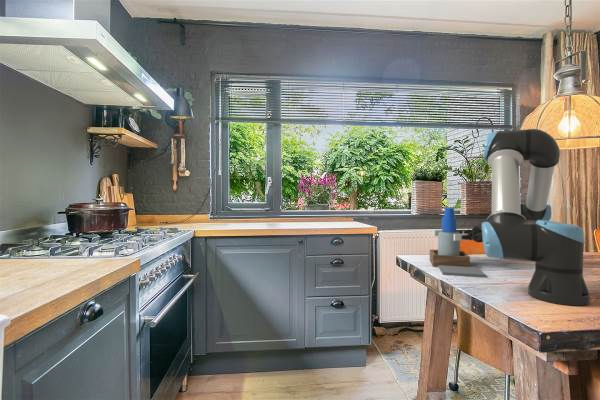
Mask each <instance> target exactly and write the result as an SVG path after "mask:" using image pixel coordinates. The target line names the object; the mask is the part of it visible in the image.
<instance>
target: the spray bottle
mask: <svg viewBox="0 0 600 400" xmlns="http://www.w3.org/2000/svg"><path fill="white" fill-rule="evenodd" d="M455 215H456V214H455V208H454V207H444V213H443V217H441V230H442V231H439V233H438V236H437V250H438V255H451V256H460V251H461V240H460V241H454V234H460V232H458V231H456V230H457V225H458V224H457V222H458V221H457V217H455Z"/></svg>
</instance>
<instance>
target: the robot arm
mask: <svg viewBox="0 0 600 400" xmlns="http://www.w3.org/2000/svg"><path fill="white" fill-rule="evenodd" d="M485 137H486V138H485V141H484V147H483V161H484V162H486V163H487V164H488V166H489V167H490V168H491V214H490V215H489V216H488V217H487V218H486V221H483V222H481V225H474V226H473V227H472V229H469V228H468V229H456V231H458V232H460V234H454V241H460V242H461V241H474V242H475V243H482V246H483V250H484V254H485V255H486V256H487V257H489V258H490V259H491V258H492V259H498V260H511V261H523V262H526V261H527V262H535V265H534V267H535V269H534V272H533V274H532V277H531V279H530V282H529V284H528V285H527V286H528V287H527V294H528V295H529V296H530V297H532V298H535V299H536V300H540V301H543V302H547V303H552V304H558V305H564V306H565V305H566V306H585V305H589V304H590V302H591V299H590V291H589V289H588V287H587V283H586V280H585V278H584V247H585V235H584V229H583V228H582V227H580V226H579V225H576V224H571V223H565V222H559V221H553V220H551V219H552V205H550V204H548V200H549V196H550V192H551V191H550V190H551V186H552V180H553V175H554V171H555V167H556V166H557V165H558V164H559V162H560V159H561V158H560V157H561V153H560V151H561V150H560V146H559V145H558V142H557V141H556V139H554V137H553V136H552V135H550V134H549V133H548V132H546V131H544V130H541V129H538V128H537V129H536V128H527V129H513V130H512V129H511V130H497V131H491V132H489V133H487V135H486V136H485ZM525 161H528V163H529V164H530V169H529V176H528V177H529V179H528V185H527V193H526V201H525V203H521V187H520V166H521V165H522V164H523V163H524V162H525ZM528 222H535V224H534V223H528ZM439 231H442V229H439V230H438V229H436V230H434V229H433V236H432V237H438V233H439Z"/></svg>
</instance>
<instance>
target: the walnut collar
mask: <svg viewBox="0 0 600 400" xmlns="http://www.w3.org/2000/svg"><path fill="white" fill-rule="evenodd" d="M429 262H430V264H431V266H432V267H433V268H439V265H445V266H463V267H471V256H470V255H469V254H467V253H466V252H465V251H464V250H460V256H451V255H438V249H429Z"/></svg>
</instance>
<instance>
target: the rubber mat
mask: <svg viewBox="0 0 600 400" xmlns="http://www.w3.org/2000/svg"><path fill="white" fill-rule="evenodd" d="M438 269H439V270H440V272H441V274H442V275H443V276H455V277H456V276H457V277H458V276H459V277H475V278H487V277H486V276H487V275H486V274H485V273H484V272H483V271H482V270H481V269H480V268H479V267H477V266H470V267H463V266H445V265H439V267H438Z"/></svg>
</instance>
